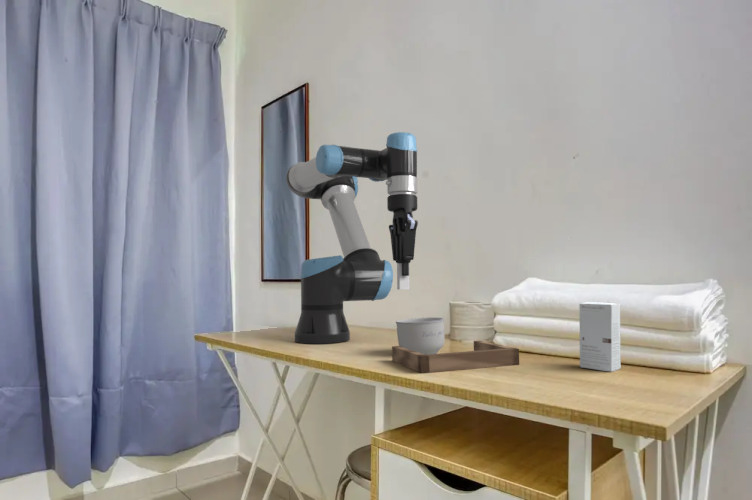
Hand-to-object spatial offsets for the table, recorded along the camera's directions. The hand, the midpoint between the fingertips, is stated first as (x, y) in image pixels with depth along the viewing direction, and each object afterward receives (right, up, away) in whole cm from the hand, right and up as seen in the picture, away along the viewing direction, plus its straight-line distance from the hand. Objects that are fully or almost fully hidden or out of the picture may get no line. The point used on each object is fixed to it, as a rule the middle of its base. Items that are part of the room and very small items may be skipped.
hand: (403, 289), depth 121 cm
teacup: (+4, -14, -11) cm, 18 cm away
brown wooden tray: (+9, -13, -24) cm, 28 cm away
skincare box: (+35, -12, -31) cm, 48 cm away
